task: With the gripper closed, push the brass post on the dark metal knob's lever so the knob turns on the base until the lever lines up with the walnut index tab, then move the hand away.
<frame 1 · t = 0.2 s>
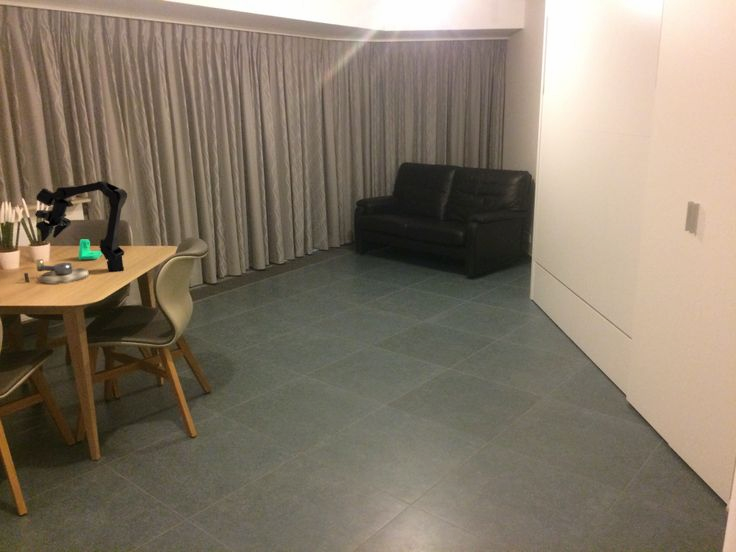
hand: (48, 239, 272), 15 cm above the table, tool tilted 30°, fingers open, 9 cm apart
knob: (53, 266, 261), point 5 cm above the table, hinge at -35.0°
leveling base: (64, 277, 262), on the table
camera mount: (91, 258, 298), on the table
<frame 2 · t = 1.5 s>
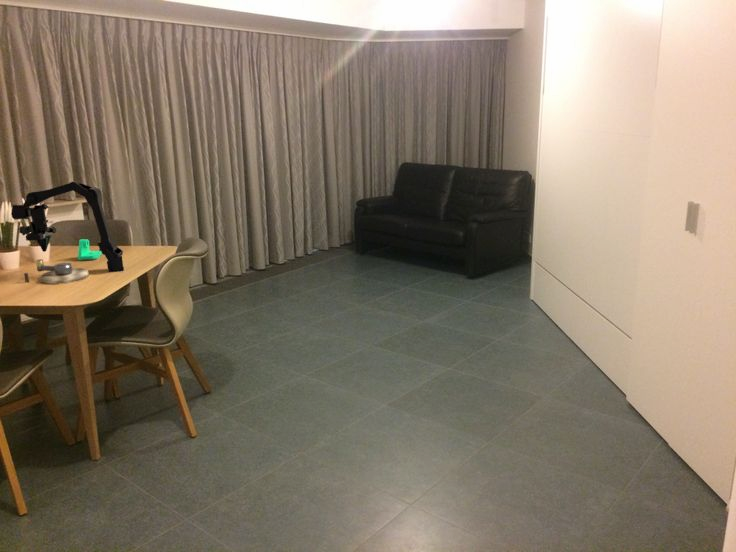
hand: (44, 251, 267), 11 cm above the table, tool pointing down, fingers closed
nothing on the table moved.
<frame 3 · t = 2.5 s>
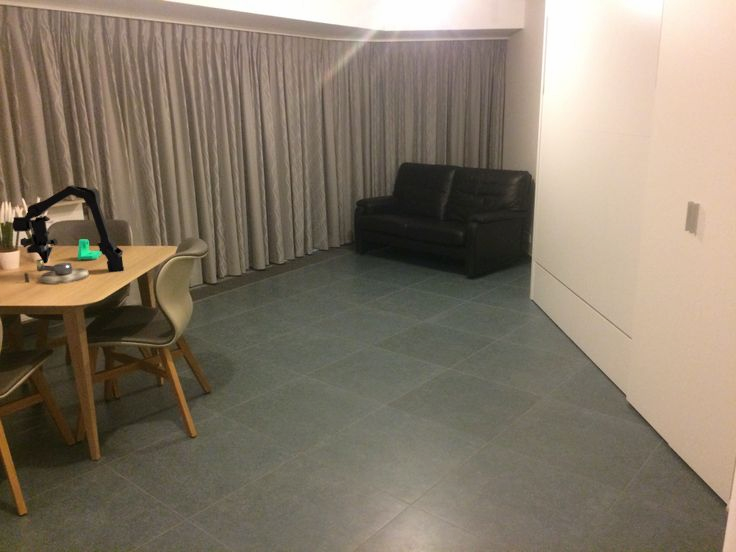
hand: (45, 263, 268), 5 cm above the table, tool pointing down, fingers closed
nothing on the table moved.
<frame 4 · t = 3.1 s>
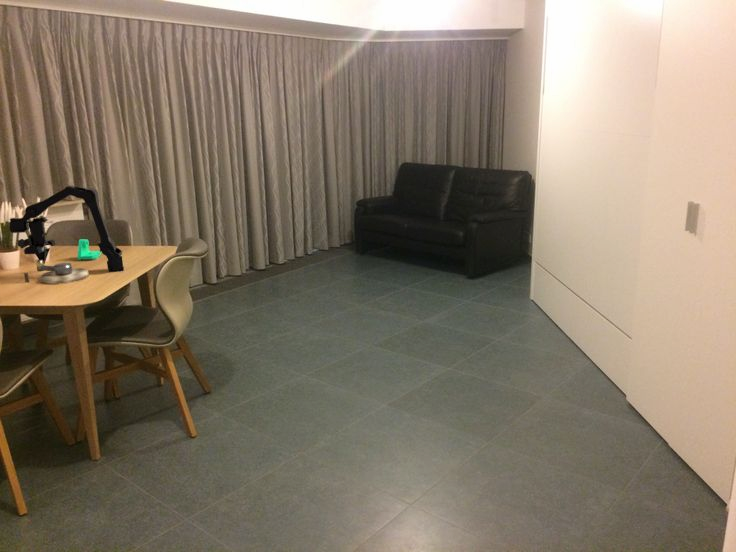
hand: (43, 264, 266), 5 cm above the table, tool pointing down, fingers closed
knob: (53, 266, 261), point 5 cm above the table, hinge at -34.6°, touching gripper
everything else where it was.
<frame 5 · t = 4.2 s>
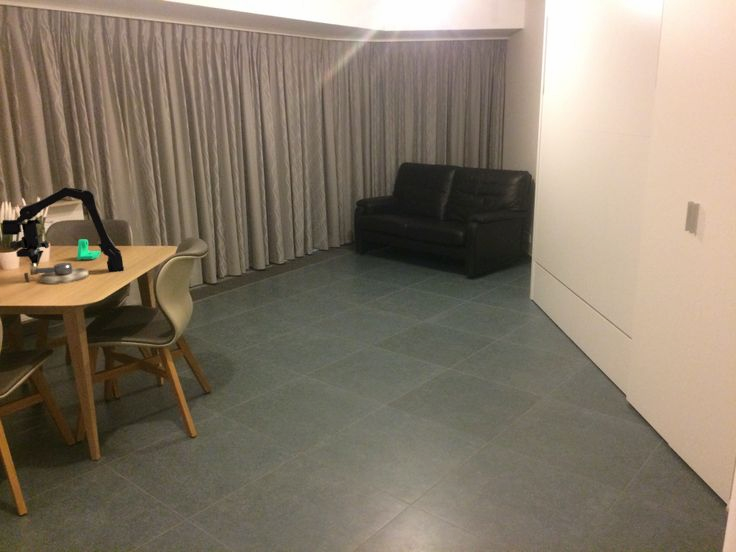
hand: (35, 267, 260), 5 cm above the table, tool pointing down, fingers closed
knob: (50, 268, 259), point 5 cm above the table, hinge at -7.4°, touching gripper
everything else where it was.
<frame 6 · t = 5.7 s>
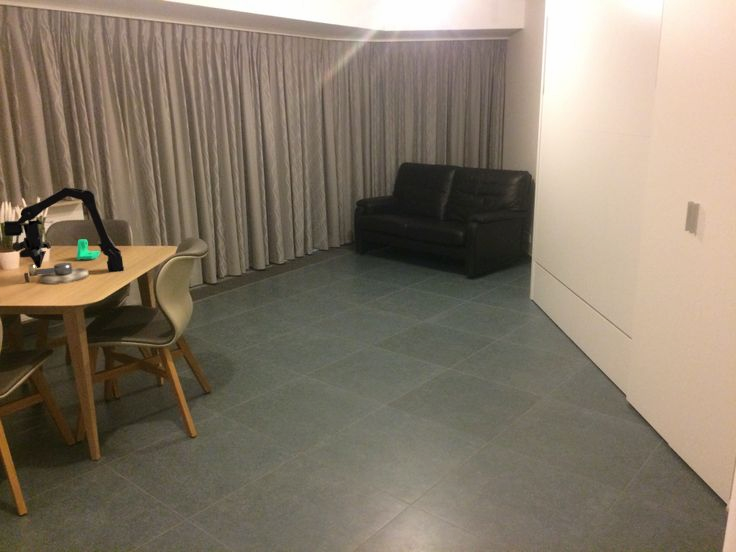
hand: (38, 267, 261), 5 cm above the table, tool pointing down, fingers closed
knob: (50, 268, 258), point 5 cm above the table, hinge at 4.9°
everything else where it was.
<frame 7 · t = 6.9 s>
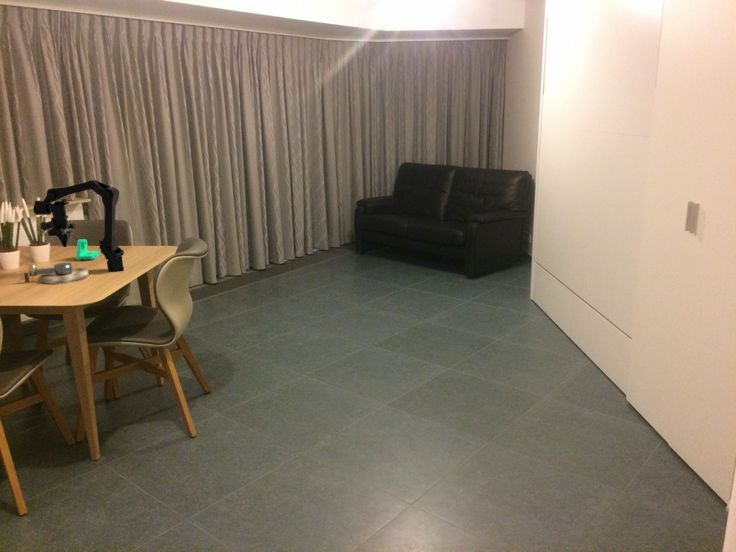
hand: (65, 246, 271), 12 cm above the table, tool pointing down, fingers closed
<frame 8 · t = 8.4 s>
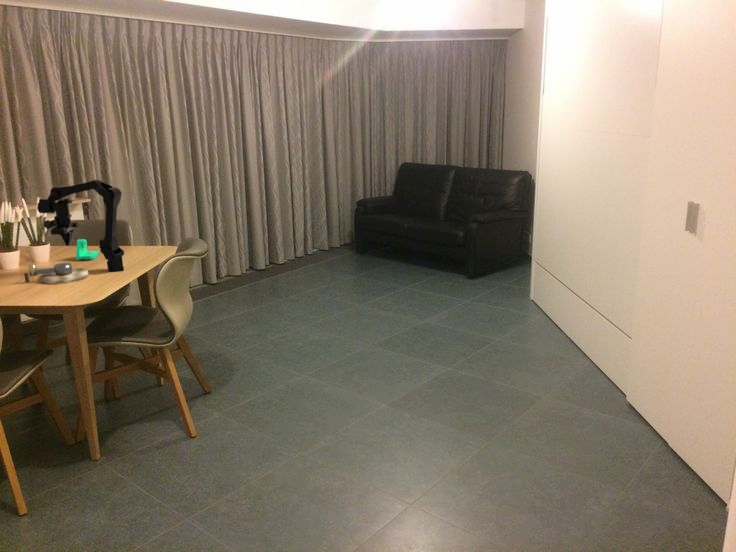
hand: (67, 245, 272), 12 cm above the table, tool pointing down, fingers closed
at the end: knob at +5° (first picture: -35°); the gripper is holding nothing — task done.
